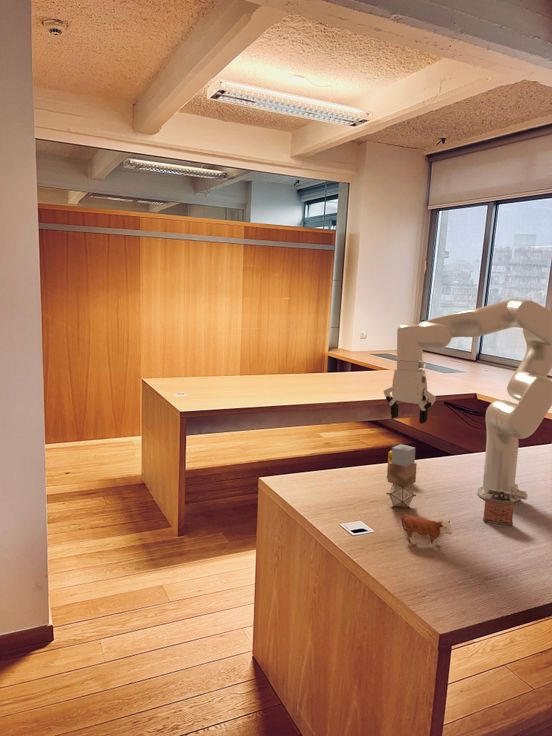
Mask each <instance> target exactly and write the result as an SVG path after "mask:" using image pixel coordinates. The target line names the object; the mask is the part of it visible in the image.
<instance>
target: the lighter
mask: <svg viewBox="0 0 552 736" xmlns="http://www.w3.org/2000/svg"><path fill="white" fill-rule="evenodd" d="M488 494H492V496H489V495H487V496H485V499H484V510H483V517H482V522H483V521H484V522H486V523H485V524H487V523H490V524H489V525H492V524H494V525H493V526H498V525H500V527H507V526H509V528H511V526H512V527H513V526H514V522H513V521H514V518H513V517H514V510H515V509H514V508H515V506H514V505H515V504H516V502H515V500H514V499H511V498H510V497H511V492H505V491H504V490H502V489H500V490H499V491H498V490H494V489H488ZM495 495H497V496H495ZM505 496H507V498H506V497H505ZM484 522H483V523H484Z"/></svg>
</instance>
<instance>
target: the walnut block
mask: <svg viewBox="0 0 552 736" xmlns="http://www.w3.org/2000/svg"><path fill="white" fill-rule="evenodd" d="M416 480H417V462H415V463H414V464H412V465H410V466H408V467H403V466H399V465H395V464H392V462H390V463H389V470H388V478H387V482H388V483H390V484H392V485H393V484H396V485H400V486H403V487H407V486H409V485H410V486H411V485H413V484H414V483H416Z"/></svg>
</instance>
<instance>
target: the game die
mask: <svg viewBox="0 0 552 736" xmlns="http://www.w3.org/2000/svg"><path fill="white" fill-rule="evenodd" d="M385 494H386V495H389V498H390V501H391V503H392V508H391V509H394V508H395V507H405V508H408V509H409V510H411V507H410V505H411V503H412V501H413V498H414V497H416V496H417V494H414V492H413V490H412V487H411V485H409V486H407V487H403V486H400V485H396V484H393V483H392V486H391V487H390V490H389V492H386V493H385Z"/></svg>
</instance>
